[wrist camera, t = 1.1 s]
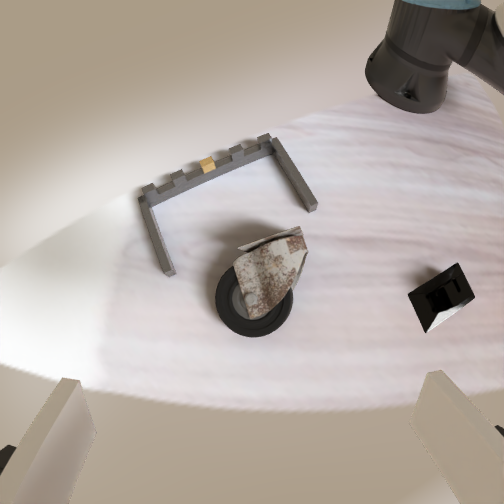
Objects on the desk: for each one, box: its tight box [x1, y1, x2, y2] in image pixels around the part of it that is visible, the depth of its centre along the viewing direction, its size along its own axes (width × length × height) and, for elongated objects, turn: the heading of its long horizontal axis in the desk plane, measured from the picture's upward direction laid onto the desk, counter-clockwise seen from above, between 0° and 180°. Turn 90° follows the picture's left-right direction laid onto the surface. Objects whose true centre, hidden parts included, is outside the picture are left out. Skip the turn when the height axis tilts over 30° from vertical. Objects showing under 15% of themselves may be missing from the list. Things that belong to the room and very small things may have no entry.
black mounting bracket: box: [408, 263, 475, 333], centre depth 34 cm, size 12×7×5 cm, turn 114°
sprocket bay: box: [138, 133, 318, 277], centre depth 40 cm, size 20×11×4 cm, turn 115°
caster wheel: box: [215, 226, 308, 337], centre depth 35 cm, size 7×11×10 cm
